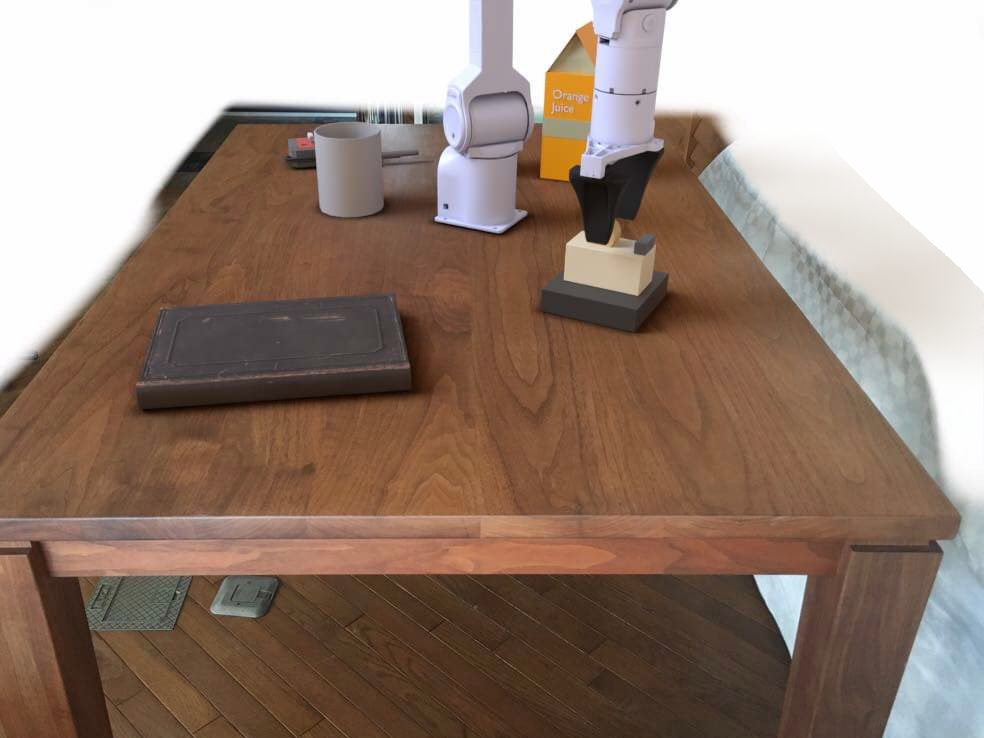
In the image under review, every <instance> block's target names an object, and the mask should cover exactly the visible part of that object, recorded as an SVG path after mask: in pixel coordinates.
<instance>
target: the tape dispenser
mask: <svg viewBox="0 0 984 738" xmlns="http://www.w3.org/2000/svg"><path fill="white" fill-rule="evenodd" d="M621 233H622V229H621V225H620V223H619V221H618V220H617V218H616V219H615V224H614V228H613V232H612V235H611V238H610V240H609V243H608V244H607V245H601V244H596V243H591V242H587V241H586V237H585V231H584V230H581V231H580V232H579V233H577V234H576V235H575V236H573V238H572V239H570V240H569V241H567V242H566V244H565V256H564V269H563V270H564V280H565V281H570V282H574V283H579V284H584V285H589V286H593V287H598V288H603V289H607V290H612V291H617V292H622V293H626V294H631V295H636V296H639V294H640V293H641V292H642V291H643V290H644V289H645V288H646V287H647V286H648V284H649V283H650V282H651V281H652V275H653V270H654V266H655V259H656V250H657V244H655V243H656V235H655V234H650V233H642V235H641V236H639V238H638V239H637V240H633V239H628V238H623V237H621Z"/></svg>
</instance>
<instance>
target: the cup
mask: <svg viewBox="0 0 984 738" xmlns="http://www.w3.org/2000/svg"><path fill="white" fill-rule="evenodd" d="M313 136H314V139H315V152H316V165H317V167H316V177H317V188H318V201H319V202H318V203H319V208H320V210H321V212H322V213H324V214H326V215H328V216H332V217H337V218H338V217H339V218H360V217H365V216H371V215H374V214H376V213H378V212H380V211H382V210H383V208H384V206H385V203H384V178H383V177H384V176H383V175H384V174H383V159H382V152H383V150H382V129H381V128H380V127H379V126H378V125H376V124H373V123H370V122H362V121H338V122H331V123H326V124H322V125H320V126H317V127H316V128H315V129H314V130H313Z"/></svg>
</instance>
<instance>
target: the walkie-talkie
mask: <svg viewBox="0 0 984 738" xmlns="http://www.w3.org/2000/svg"><path fill="white" fill-rule="evenodd" d="M287 147H288V148H287V149H288V155H285V156H284V157H283V160H284V161H283V162H284V163H286V164H291V166H292V167H293V168H296V169H305V168H317V165H316V152H315V139H314V133H313V132H307V137H297V138H287ZM419 154H420V153H419V150H418V149H406V150H393V151H392V150H391V151H382V160H389V159H390V160H391V159H400V158H401V157H402V158H403V157H411V156H412V157H413V156H414V157H415V156H419Z"/></svg>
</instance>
